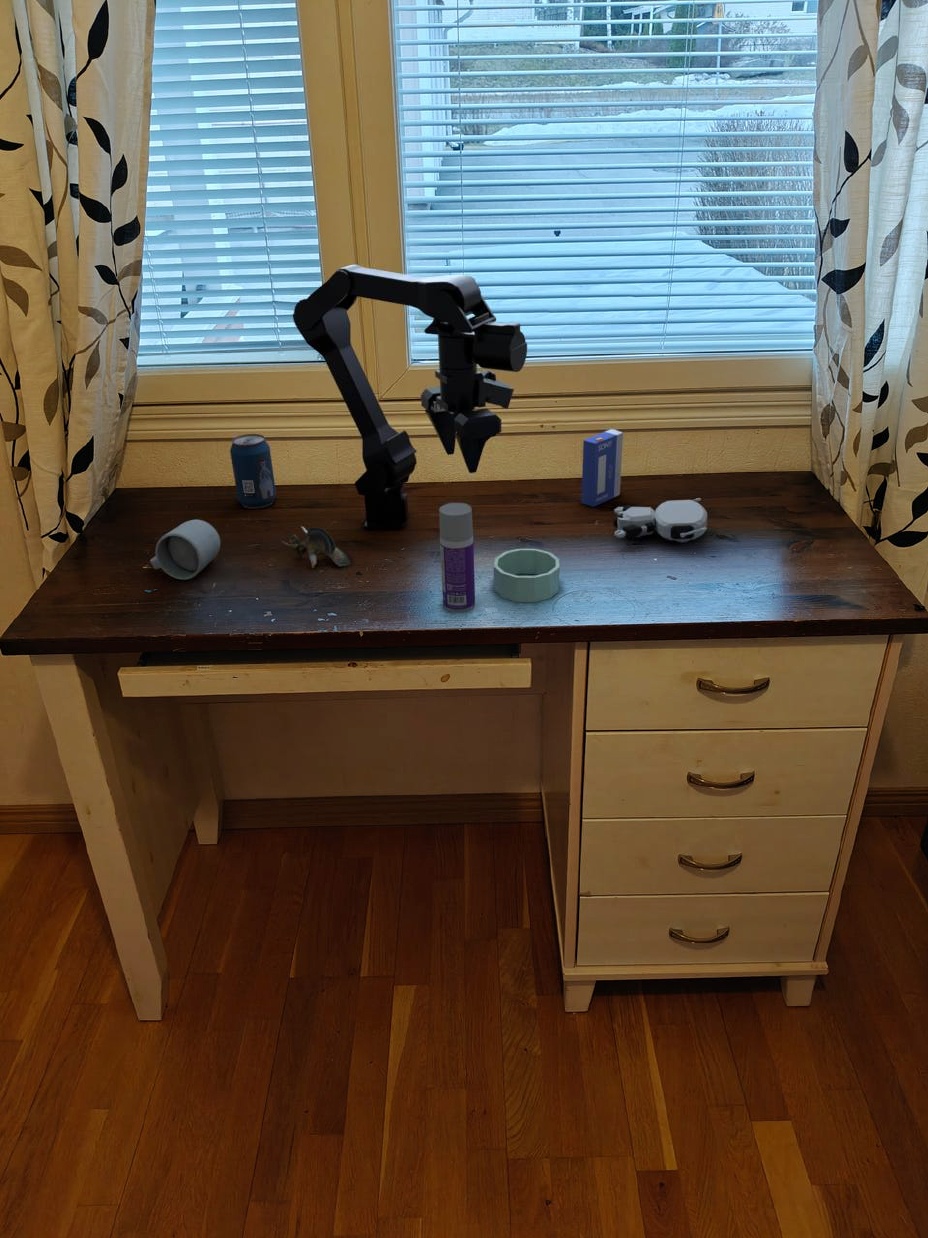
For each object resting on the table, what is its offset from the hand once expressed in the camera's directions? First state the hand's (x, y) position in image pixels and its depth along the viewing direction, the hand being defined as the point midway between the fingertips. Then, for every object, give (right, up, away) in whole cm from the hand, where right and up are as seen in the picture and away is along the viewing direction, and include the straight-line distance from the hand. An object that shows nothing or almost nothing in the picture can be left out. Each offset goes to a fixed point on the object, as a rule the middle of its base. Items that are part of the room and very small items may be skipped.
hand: (461, 463), depth 151 cm
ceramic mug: (-44, -17, -1) cm, 47 cm away
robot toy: (+32, -11, +5) cm, 35 cm away
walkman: (+25, -3, +19) cm, 32 cm away
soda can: (-37, -4, +22) cm, 44 cm away
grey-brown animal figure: (-22, -16, 0) cm, 28 cm away
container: (0, -23, -13) cm, 26 cm away
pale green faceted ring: (+10, -20, -9) cm, 24 cm away
